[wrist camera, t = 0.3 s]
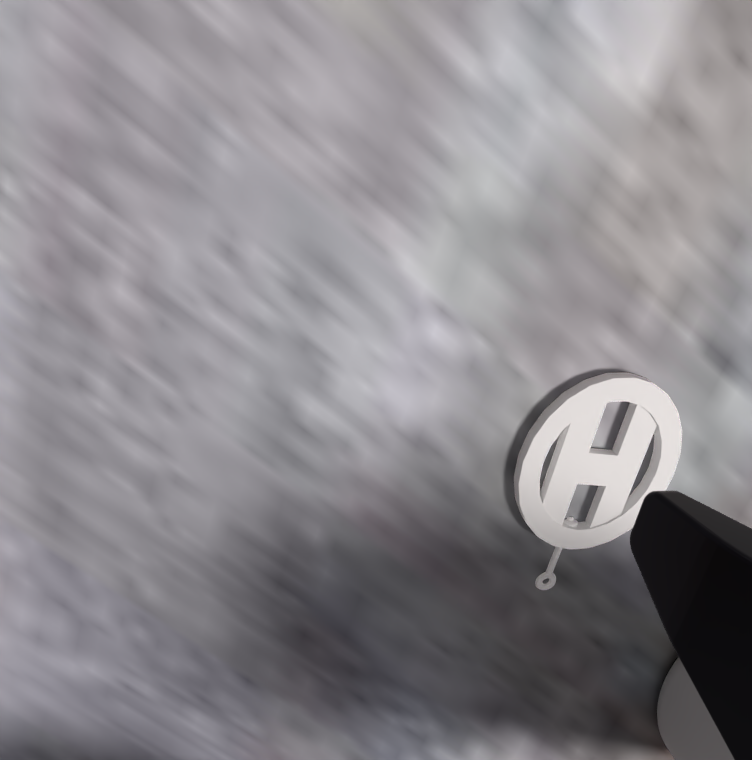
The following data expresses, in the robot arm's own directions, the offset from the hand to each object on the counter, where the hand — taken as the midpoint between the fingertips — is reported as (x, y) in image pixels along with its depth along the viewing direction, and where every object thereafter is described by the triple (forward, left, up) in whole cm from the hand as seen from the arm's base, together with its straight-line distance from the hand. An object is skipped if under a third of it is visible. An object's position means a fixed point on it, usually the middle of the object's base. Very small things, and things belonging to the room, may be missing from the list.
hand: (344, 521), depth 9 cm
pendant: (-8, -14, -15) cm, 22 cm away
